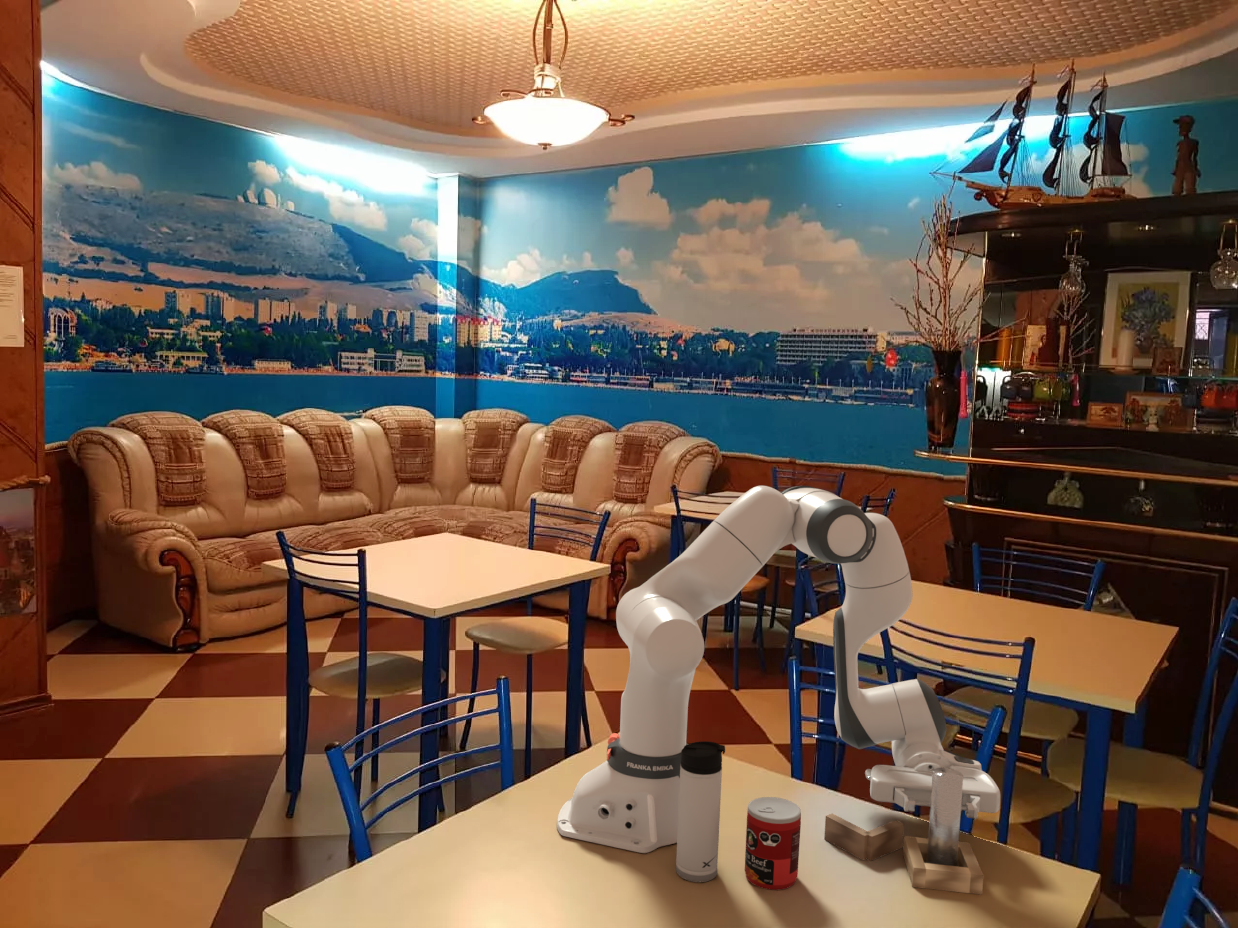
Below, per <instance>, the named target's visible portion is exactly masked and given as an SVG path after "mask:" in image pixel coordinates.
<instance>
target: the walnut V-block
mask: <svg viewBox="0 0 1238 928" xmlns="http://www.w3.org/2000/svg"><path fill="white" fill-rule="evenodd" d="M904 829H905V823H903V822H901V821H900V820H897V819H895V820H893V821H890V822H887V823H885V824H882V825H880V826H877V827H874V828H872V829H869V830H865V829H863V828H861V827H860V826H858V825H856V824H853V823H852V822H850V821H848V820H846V819H845V818H842V817H840V816H839V815H836V814H834V813H829V814H826V815H825V822H824V840H825V841H827V842H829V843H831V844H833V845H835V846H836V847H838V848H840V849H841V850H844V851H845V852H848V853H849V854H851V855H852V856H854V857H856V858H859V860H862V861H865V860H868V861H870V862H871V861H874V860H876V859H879V858H881V857H883V856H886V855H889V854H891V853H892V852H896V851H897V850H900V849H903V845H904Z"/></svg>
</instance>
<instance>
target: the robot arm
mask: <svg viewBox="0 0 1238 928" xmlns="http://www.w3.org/2000/svg"><path fill="white" fill-rule="evenodd" d="M789 545H793V546H794V547H796V549H798V550H799V551H800V552H802V553H803V554H806V555H808V556H810V557H813V558H816V559H819V560H821V561H822V562H824V563H828V564H829V563H830V564H838V565H839V564H840V565H841V569H842V570H841V571H842V575H843V580H844V583H845V584H844V585H845V596H844V600H843V604H842V605H841V607H840V608H838V609H837V610H836V611H835V613H834V616H833V622H832V623H833V624H832V631H833V632H832V635H833V637H832V639H833V641H832V642H833V662H834V665H833V666H834V667H833V668H834V681H835V682H834V683H835V702H834V703H835V704H834V716H833V718H834V723H835V727H836V728H835V729H836V731H837V733H838V735H839V736H840V739H841V740H842V741H843V742H845V743H846V744H848V745H849V746H851V747H853V748H856V749H858V750H862V749H865V748H869V747H873V746H876V745H877V744H881V743H888V742H891V753H892V757H893V761H894V764H895V765H889V764H876V765H874V766H873V767H872V768H871V769H870V768H866V769H865V772H864V774H865V778H866V779H867V780H868V781H870V785H869V787H870V788H869V793H870V798H871V799H872V800H874V801H876V802H880V803H881V802H883V803H890V804H891V803H892V804H897V805H898V806H899V807H901V808H903V810H904V812H913V813H915V807H916V806H919V807H920V806H921V807H930V805H931V790H932V776H933V770H934V769H935V768H950V769H954V770H957V771H959V772H961V773H962V774H963V786H962V800H961V811H965V812H964V813H965V816H966V818H967V819H978V816H979V815H978V813H988V814H989V813H990V814H995V813H998V812H999V810H1000V807H1001V806H1000V805H1001V791H1000V789H999V787H998V785H997V783H996V782H995V781H994V779H993V777H991V775H989V774H988V773H986V771H983V769H982V764H981V763H980V761H978V760H975V759H971V758H968V757H967V758H966V757H962V756H959V755H955V754H953V753H951V752H948V751H946V750H944V748H943V745H942V743H943V742H944V739H945V736H946V734H947V733H946V732H947V722H946V718H945V714H944V710H943V708H942V705H941V703H940V701H939V698H938V697H937V694H936V693H935V690H934V689H933V688H932V687H931V686H930V685H928V684H927V683H926V682H924V681H923V680H921V679H918V678H915V679H908V680H904V681H903V680H902V681H897V682H893V683H890V684H886V685H880V686H879V685H878V686H874V687H870V688H859V671H858V670H859V669H858V668H859V667H858V655H859V652H860V650H861V648H863V646H864V645H865V644H866V643H868V642H869V640H871V639H872V638H874V637H875V636H876V635H878V634H881V632H883V631H885V630H887V629H889V628H891V627H892V626H894V624H896V623H897V622H898V621H900V620H901V619H902V618H903V617H904V615H905V614H906V613H907V611H908V610H909V608H910V606H911V605H912V601H913V584H912V577H911V572H910V568H909V563H908V560H907V557H906V554H905V550H904V547H903V544H902V542H901V539H900V535H899V534H898V532H897V529H896V527H895V526H894V523H893V522H892V521H891V520H890V518H889V517H887V516H885V515H883V514H880V513H877V512H864V511H863V510H862V509H861V508H860V507H859V506H858V505H856V504H855V503H854V502H852V501H850V500H847V499H844V498H842V497H839V495H836V494H835V493H834V492H831V491H828V490H824V489H820V488H815V487H813V486H810V485H797V486H792V487H789V488H786V489H784V490H782V491H779V490H777V489H775V488H773V487H771V486H768V485H756V486H754V487H752V488H750V489H749V490H747V491H746V492H744V493H743V494H742V495H740V496H739V497H738V498H736V499H735V500H734V501H733V502H732V503H731V504H729V505H728V506H727V507H725V509H724V510H723V511H721V512H720V513H719V514H718V516H716V518H715V519H713V521H711V523H710V524H708V526H706V528H705V529H703V531H702V532H701V533H700V534H699V535H698V537H696V539H694V541H693V542H692V543H691V544H690V545H689V546H688V547H687V548H686V549H685V550H684V551H683V552H682V553H681V554H680V555H679V556H678V557H676V558H675V559H674V560H672V562H670V563H669V564H667V565H666V566H665V567H663V568H662V569H661V570H659V571H658V572H656V573H655V574H654V575H652V576H651V577H650V578H648V579H647V581H645V582H644V583H642V584H641V585H640V586H637V587H634V588H632V589H629V590H628V591H627V592H626V593H624V595H623V596H622V597H621V598H620V600H619V602H618V604H617V607H616V610H615V619H616V620H615V621H616V628H617V631H618V635H619V637H620V638H621V639H622V641H623V642H624V643H625V645H626V646H627V647H628V651H629V657H630V659H629V661H630V662H629V670H628V674H627V679H626V684H625V688H624V691H623V692H622V693H621V698H620V717H619V718H620V720H619V721H620V722H619V723H620V724H619V725H620V726H619V734H618V733H615V732H613V733H611V735H609V738H608V740H607V744H608V745H607V746H606V760H605V761H603V762H602V763H601V764H598V765H597V766H595V767H594V768H593V769H591V770H589V771H588V772H586V773H585V774H584V775H583V776H582V777H581V778H580V780H578V782H577V784H576V786H575V789H574V791H573V794H572V797H571V798H569V799H568V800H567V801H566V802H565V803H564V804H563V805H562V807H561V808H560V810H559V812H558V815H557V820H556V829H557V831H558V833H559V834H560V835H561V836H563V837H567V838H572V839H576V840H580V841H585V842H590V843H594V844H597V845H603V846H608V847H612V848H618V849H621V850H627V851H631V852H635V853H636V852H637V853H641V854H646V853H647V854H648V853H650V852H652V851H655V850H657V848H661V847H664V846H669V845H672V844H677V832H678V809H679V786H680V769H681V768H680V764H681V751H682V749H683V748H684V746H686V745H687V744H688V743H687V733H688V731H687V730H688V712H689V711H688V710H689V708H688V707H689V700H690V696H691V695H690V693H691V690H692V689H691V688H692V685H693V681H694V677H695V673H696V668H698V667H699V665H700V663H701V661H702V659H703V656H704V652H705V641H704V637H703V633H702V630H701V628H700V625H699V624H698V620H699V619H700V618H702V617H703V616H704V615H706V614H708V613H709V612H712V610H714V609H716V608H718V607H719V606H721V605H725V604H728V603H729V602H730V601H731V602H732V600H733V599H734V598H735V597H737V595H738V594H739V593H740V592H741V590H743V588H744V587H745V586H746V585H747V584H748V583H749V582H750V581H751V580H752V579H753V578H754V577H755V575H756V574H757V573H758V572H759V571H760V570H761V569H762V568H763V567H764V566H765V564H766V563H767V562H768V561H769V560H770V559H771V558H772V557H773V555H774V554H775V553H776V552H778V551H779V550H780V549H783V547H785V546H789Z"/></svg>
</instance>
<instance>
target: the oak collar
mask: <svg viewBox="0 0 1238 928" xmlns="http://www.w3.org/2000/svg"><path fill="white" fill-rule="evenodd" d="M927 849H928V837H927V838H926V837H920V836H919V837H918V836H909V835H903V848H902V856H903V858H904V863H905V865H906V869H907V873H908V877H909V880H910V883H911V887H912V888H921V889H927V890H928V889H931V890H938V891H947V892H948V891H949V892H957V893H964V894H965V893H966V894H972V895H980V896H981V895H983V887H984V873H983V871H982V868H981V866H980V864H979V862H978V859H977V857H976V855H975V853H974V851H973V848H972V846H971V844H970V842H966V841H959V842H958V856H957V866H948V865H939V864H930V863H927Z"/></svg>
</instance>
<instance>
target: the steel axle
mask: <svg viewBox="0 0 1238 928" xmlns="http://www.w3.org/2000/svg"><path fill="white" fill-rule="evenodd" d="M962 786H963V774H962V773H961V772H959V771H957V770H954V769H950V768H935V769H934V770H933V776H932V790H931V805H930V808H929V822H928V823H929V824H928V834H927V835H928V836H927V838H928V849H927V862H926V863H930V864H939V865H948V866H957V867H958V865H957V856H958V842H960V841H959V839H960V838H959V837H960V827H961V813H962V812H961V811H962V810H961V800H962Z"/></svg>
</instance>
